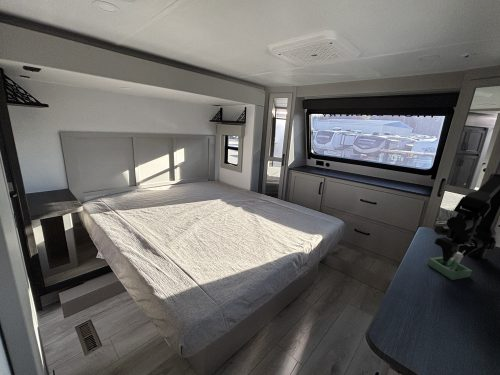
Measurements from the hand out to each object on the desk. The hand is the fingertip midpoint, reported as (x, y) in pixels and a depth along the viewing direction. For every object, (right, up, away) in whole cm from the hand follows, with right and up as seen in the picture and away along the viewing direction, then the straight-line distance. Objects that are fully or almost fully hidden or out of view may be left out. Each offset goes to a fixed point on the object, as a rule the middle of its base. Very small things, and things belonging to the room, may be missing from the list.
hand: (451, 260), depth 92 cm
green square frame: (0, -5, +1) cm, 5 cm away
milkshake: (+1, -5, +2) cm, 5 cm away
